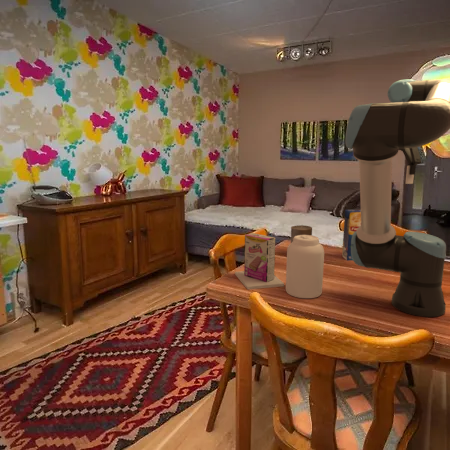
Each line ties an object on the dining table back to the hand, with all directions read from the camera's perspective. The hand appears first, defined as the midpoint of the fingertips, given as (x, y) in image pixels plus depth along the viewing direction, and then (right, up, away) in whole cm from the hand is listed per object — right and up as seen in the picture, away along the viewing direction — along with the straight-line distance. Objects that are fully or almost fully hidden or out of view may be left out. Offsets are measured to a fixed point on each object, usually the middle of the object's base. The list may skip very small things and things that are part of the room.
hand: (396, 182), depth 142 cm
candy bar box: (-53, -37, -1) cm, 64 cm away
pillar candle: (-30, -31, +32) cm, 54 cm away
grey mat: (-53, -37, 0) cm, 65 cm away
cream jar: (-38, -40, -12) cm, 57 cm away
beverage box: (-5, -32, +28) cm, 43 cm away
